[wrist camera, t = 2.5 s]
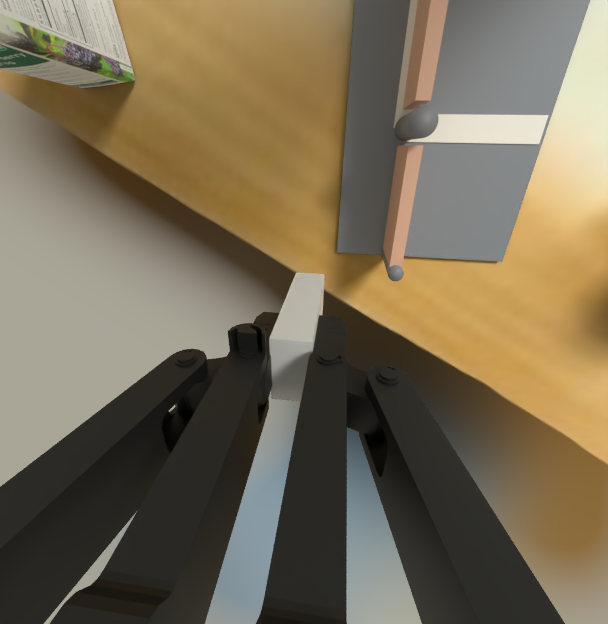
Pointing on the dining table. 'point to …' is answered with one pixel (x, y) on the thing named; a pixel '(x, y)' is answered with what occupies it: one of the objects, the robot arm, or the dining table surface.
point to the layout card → (453, 121)
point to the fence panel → (400, 208)
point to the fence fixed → (422, 71)
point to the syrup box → (64, 41)
